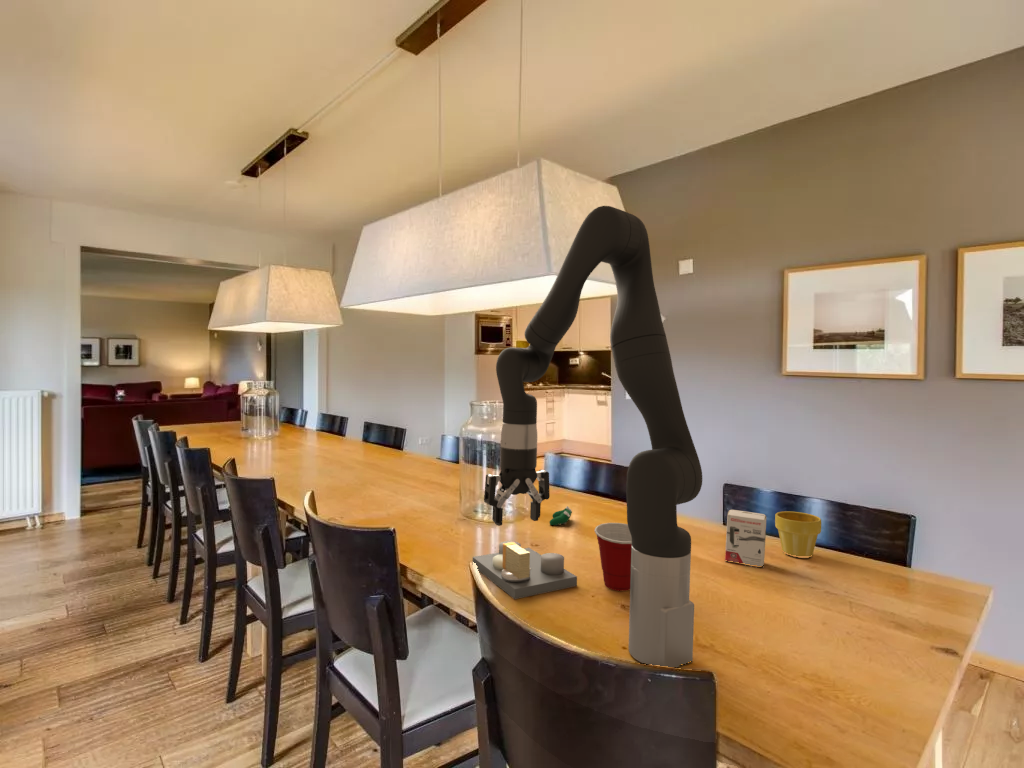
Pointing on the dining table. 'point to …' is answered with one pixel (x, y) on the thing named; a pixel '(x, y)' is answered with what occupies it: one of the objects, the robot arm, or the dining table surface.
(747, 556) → the ink box
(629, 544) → the plastic cup
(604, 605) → the dining table surface
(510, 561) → the wing knob
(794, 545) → the plant pot
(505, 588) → the base
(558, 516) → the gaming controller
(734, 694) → the dining table surface
